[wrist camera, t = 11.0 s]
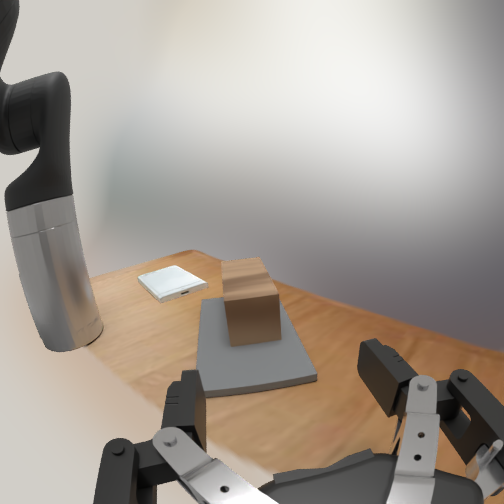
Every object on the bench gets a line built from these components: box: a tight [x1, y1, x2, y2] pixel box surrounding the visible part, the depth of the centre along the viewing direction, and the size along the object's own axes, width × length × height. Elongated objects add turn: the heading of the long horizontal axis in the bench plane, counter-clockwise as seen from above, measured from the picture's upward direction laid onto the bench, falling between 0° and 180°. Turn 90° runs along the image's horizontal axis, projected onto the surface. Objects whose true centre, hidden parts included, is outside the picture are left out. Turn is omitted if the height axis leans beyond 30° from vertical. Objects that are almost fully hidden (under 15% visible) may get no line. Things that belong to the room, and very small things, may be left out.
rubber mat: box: [196, 297, 317, 398], centre depth 29 cm, size 18×10×1 cm, turn 7°
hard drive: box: [138, 265, 208, 303], centre depth 46 cm, size 2×8×12 cm
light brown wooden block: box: [221, 257, 282, 347], centre depth 32 cm, size 5×5×12 cm
